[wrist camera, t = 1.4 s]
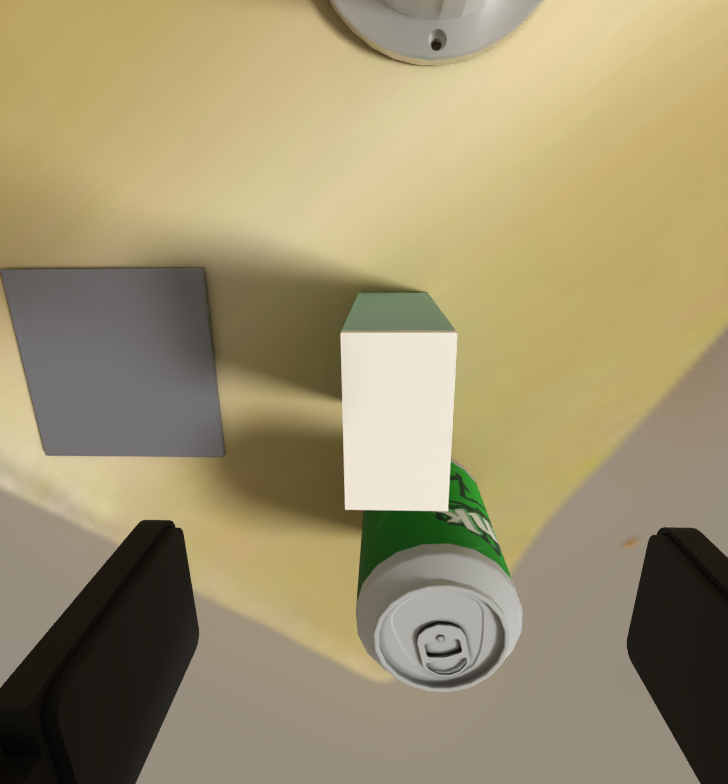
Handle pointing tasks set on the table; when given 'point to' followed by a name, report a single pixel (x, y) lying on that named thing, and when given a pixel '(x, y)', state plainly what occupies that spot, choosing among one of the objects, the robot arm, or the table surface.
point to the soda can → (436, 592)
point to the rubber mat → (118, 360)
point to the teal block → (397, 402)
